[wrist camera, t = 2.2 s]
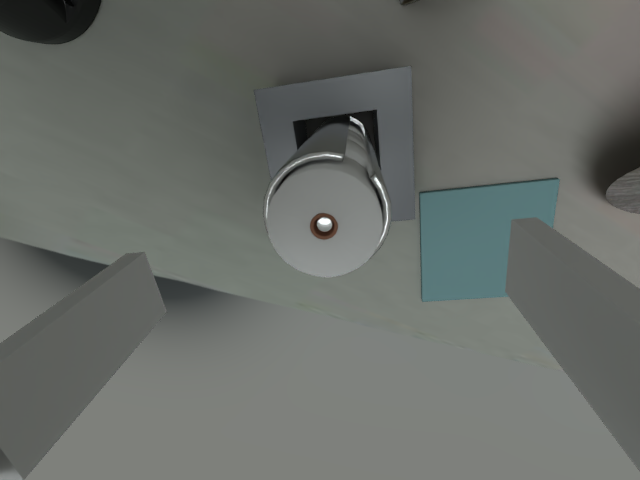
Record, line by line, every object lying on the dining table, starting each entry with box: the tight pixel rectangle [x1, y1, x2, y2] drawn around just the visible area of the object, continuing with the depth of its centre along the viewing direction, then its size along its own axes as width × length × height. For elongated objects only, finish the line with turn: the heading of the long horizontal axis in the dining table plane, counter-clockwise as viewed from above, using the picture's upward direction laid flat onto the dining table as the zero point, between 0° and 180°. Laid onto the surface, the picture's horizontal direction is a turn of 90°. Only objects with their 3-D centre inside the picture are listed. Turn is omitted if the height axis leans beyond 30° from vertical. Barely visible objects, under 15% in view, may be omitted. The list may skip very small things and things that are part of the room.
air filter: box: [263, 115, 392, 277], centre depth 27 cm, size 6×6×25 cm
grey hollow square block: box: [254, 66, 415, 221], centre depth 35 cm, size 14×14×8 cm
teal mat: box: [419, 178, 560, 302], centre depth 42 cm, size 15×15×1 cm
